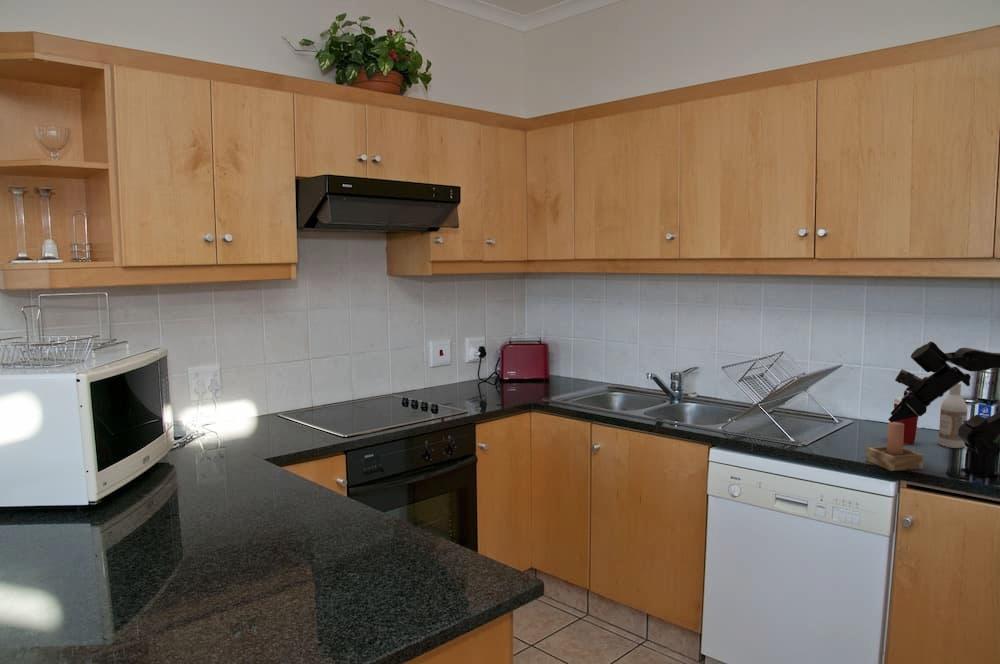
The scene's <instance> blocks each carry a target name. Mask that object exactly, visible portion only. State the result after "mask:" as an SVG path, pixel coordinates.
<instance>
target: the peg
mask: <svg viewBox="0 0 1000 664" xmlns="http://www.w3.org/2000/svg"><path fill="white" fill-rule="evenodd" d="M903 438H904V424H903V423H898V422H890V421H889V422H888V423H887V438H886V439H887V440H886V441H887V442H886V446H887V453H886V454H889V455H891V456H898V455H903V448H904V444H903Z"/></svg>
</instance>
